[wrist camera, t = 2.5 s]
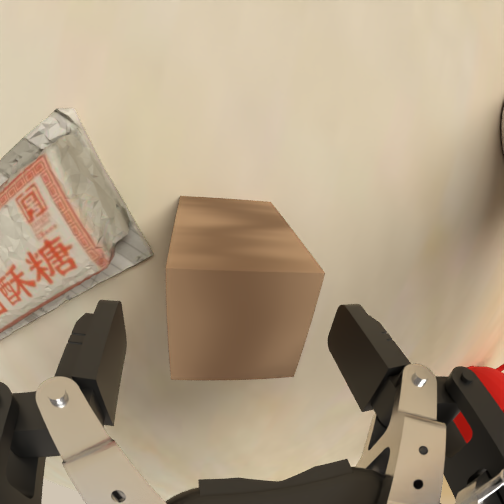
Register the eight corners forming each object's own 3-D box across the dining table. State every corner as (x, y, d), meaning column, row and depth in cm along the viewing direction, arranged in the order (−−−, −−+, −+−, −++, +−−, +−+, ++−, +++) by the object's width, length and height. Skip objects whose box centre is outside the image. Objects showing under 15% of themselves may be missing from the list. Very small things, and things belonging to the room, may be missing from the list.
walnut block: (270, 202, 17) (325, 273, 10) (258, 279, 19) (293, 376, 12) (180, 196, 16) (165, 268, 9) (177, 276, 18) (171, 379, 11)
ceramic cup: (505, 349, 34) (537, 385, 25) (433, 416, 37) (459, 458, 28) (503, 315, 28) (547, 358, 19) (414, 400, 31) (448, 455, 23)
